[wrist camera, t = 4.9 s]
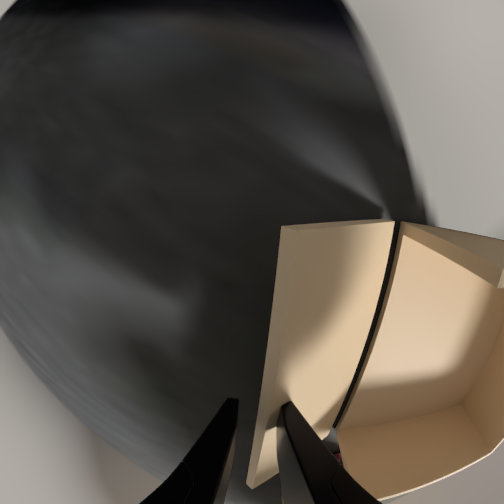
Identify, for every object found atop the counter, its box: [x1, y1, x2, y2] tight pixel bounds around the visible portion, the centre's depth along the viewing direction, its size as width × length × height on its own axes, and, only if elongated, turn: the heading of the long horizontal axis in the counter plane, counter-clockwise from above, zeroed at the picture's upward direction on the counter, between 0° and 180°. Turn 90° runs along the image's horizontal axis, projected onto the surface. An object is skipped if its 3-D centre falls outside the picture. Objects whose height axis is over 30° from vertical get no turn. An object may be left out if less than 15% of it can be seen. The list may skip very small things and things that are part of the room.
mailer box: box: [335, 221, 504, 501], centre depth 9 cm, size 11×13×6 cm
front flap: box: [246, 219, 395, 489], centre depth 10 cm, size 1×13×6 cm
